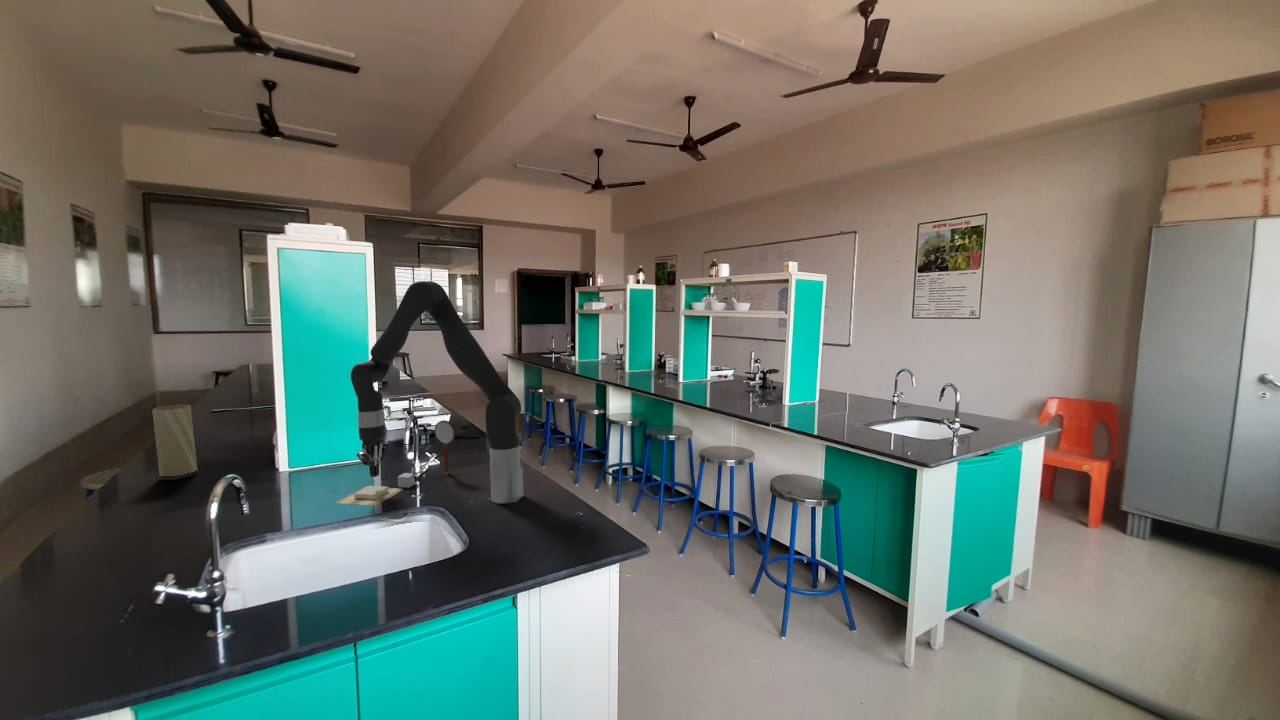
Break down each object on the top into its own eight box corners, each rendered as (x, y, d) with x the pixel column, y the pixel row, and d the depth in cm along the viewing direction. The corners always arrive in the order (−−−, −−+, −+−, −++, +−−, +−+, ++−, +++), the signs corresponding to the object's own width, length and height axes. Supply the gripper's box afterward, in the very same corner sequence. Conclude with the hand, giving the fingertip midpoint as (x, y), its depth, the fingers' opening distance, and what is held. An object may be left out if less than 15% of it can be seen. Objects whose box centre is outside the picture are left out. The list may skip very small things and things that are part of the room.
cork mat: (403, 490, 171) (403, 488, 171) (376, 506, 157) (376, 505, 157) (365, 487, 173) (365, 486, 173) (335, 504, 159) (334, 503, 159)
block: (416, 484, 176) (415, 473, 176) (409, 489, 173) (408, 477, 172) (405, 484, 177) (404, 472, 177) (398, 488, 173) (397, 476, 173)
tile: (388, 486, 169) (374, 494, 162) (388, 491, 169) (374, 499, 162) (368, 485, 170) (354, 493, 163) (369, 490, 170) (354, 498, 163)
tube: (152, 480, 180) (143, 410, 177) (178, 471, 190) (171, 404, 187) (179, 481, 179) (172, 410, 177) (204, 471, 189) (198, 404, 186)
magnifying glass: (458, 475, 185) (456, 420, 183) (455, 476, 184) (452, 421, 181) (438, 472, 188) (436, 419, 186) (435, 474, 187) (432, 420, 184)
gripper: (368, 429, 158) (372, 483, 160) (395, 419, 171) (397, 469, 173) (346, 428, 159) (350, 482, 161) (374, 418, 172) (377, 468, 174)
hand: (374, 475), depth 167 cm, fingers closed
